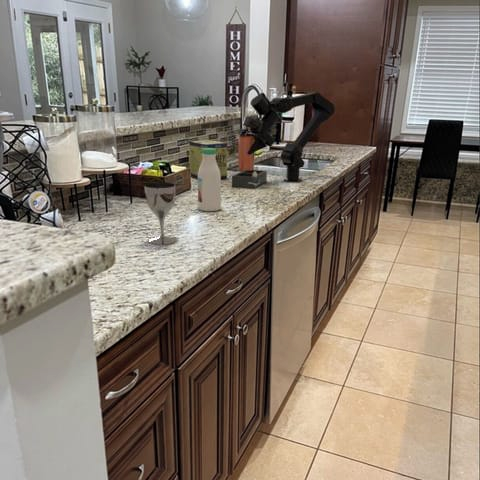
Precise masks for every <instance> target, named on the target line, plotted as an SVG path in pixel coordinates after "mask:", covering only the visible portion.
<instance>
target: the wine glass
mask: <svg viewBox="0 0 480 480" xmlns="http://www.w3.org/2000/svg"><path fill="white" fill-rule="evenodd" d="M144 197H145V200H146V204H147V207H148V208H149V210H150V211H151V212H152V213H153V214H154V215H155V216H156V217H157V219H158V223H159V227H160V236H156V237H152V238H150V239H149V243H151V244H154V245H169V244H174V243H175V242H177V239H176V238H175V237H171V236H165V232H164V228H165V219H166V217H167V215H168V214H169V213H170V212H171V211H172V210H173V207H174V205H175V201H176V184H175V183H171V182H149V183H146V184H145V185H144Z"/></svg>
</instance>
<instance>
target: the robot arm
mask: <svg viewBox="0 0 480 480" xmlns="http://www.w3.org/2000/svg"><path fill="white" fill-rule="evenodd" d="M309 104H310V106H311V108H312V109H313V110H312V117H311V118H310V120H309V121H308V122H307V123H306V125H305V126H304V127H303V129H302V130H301V132H300V133H299V135H298V136H297V137H296V139H295V140H294V141H292V142H287V143H286V144H285V145H284V147H283V148H282V149H281V153H280V160H281V161H282V165H283V166H286V174H285V178H284V179H283V181H284V182H293V183H296V182H297V183H298V182H300V181H301V180H302V178H300V169H301V168H304V166H305V161H304V159H303V158H302V156H303V151H304V148H305V147H306V145H307V144H308V143H309V141H310V140H311V138H312V137H313V136H314V134H315V133H316V132H317V131H318V129H319V127H321V125H322V124H323V123H325V122H327V121H328V120H329V119H330V118H332V117H333V115H334V114H335V111H336V110H335V104H334V103H333V102H331V101H330V100H329V99H327V98H326V97H324V96H322V94H321V93H320V92H318V91H310V92H308V93H304V94H300V95H296V96H291V97H274V98H272V99H271V100H269V98H267V95H266V94H265V92H260V93H259V94H257V95H256V96H254V97H253V98H252V99H251V101H250V106H251V107H252V108H253V110H254V111H255V112H256V113H257V115H258V116H254V117H251V116H244V119H243V122H242V126H245V127H247V128H240V129H239V130H238V132H237V134H238V135H239V136H254V137H255V141H254V143H253V145H252V146H251V148H250V149H249V151H248V155H250V154H252V153H254V154H255V153H256V152H258V151H261V150H262V149H265V148H267V147H270V148H271V147H272V146H273V145H274V143H275V139H274V138H273V136H272V135H271V133H272V131H273V130H272V128H273V127H274V125H275V124H276V123H277V124H282V123H283V119H282V115H279V114H286V113H288V112H291V111H292V110H293V109H294V108H297V107H301V106H305V105H309ZM259 116H262V117H261V118H260V117H259Z"/></svg>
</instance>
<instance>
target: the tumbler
mask: <svg viewBox="0 0 480 480" xmlns="http://www.w3.org/2000/svg"><path fill="white" fill-rule="evenodd" d="M254 141H255V137H254V136H240V135H239V136H238V149H237V150H238V151H237V153H238V156H237V157H238V165H237V166H238V170H239V171H250V170H255V152H254V153H252V154H250V155H248V151H249V149H250V148H251V146H252V145H253V143H254Z"/></svg>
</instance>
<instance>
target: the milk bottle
mask: <svg viewBox="0 0 480 480" xmlns="http://www.w3.org/2000/svg"><path fill="white" fill-rule="evenodd" d="M202 156H203V159H202V163H201V166H200V168H199V171H198V178H197V205H198V207H197V208H198V210H200V211H204V212H216V211H220V210H221V208H222V180H221V176H220V170H219V168H218V165H217V163H216V159H215V156H216V149H214V148H203V149H202Z"/></svg>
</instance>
